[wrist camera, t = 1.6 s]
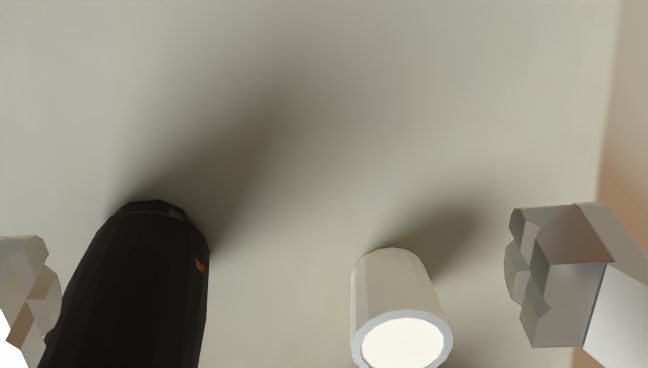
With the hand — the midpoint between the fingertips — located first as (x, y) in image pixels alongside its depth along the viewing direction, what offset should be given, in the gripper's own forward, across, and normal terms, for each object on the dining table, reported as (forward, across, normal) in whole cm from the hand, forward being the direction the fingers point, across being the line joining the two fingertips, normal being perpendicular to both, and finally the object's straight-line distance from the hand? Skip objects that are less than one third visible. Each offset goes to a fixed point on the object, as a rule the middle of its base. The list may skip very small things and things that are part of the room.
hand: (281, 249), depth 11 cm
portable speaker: (+26, +11, +20) cm, 35 cm away
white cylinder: (+26, -6, +25) cm, 37 cm away
